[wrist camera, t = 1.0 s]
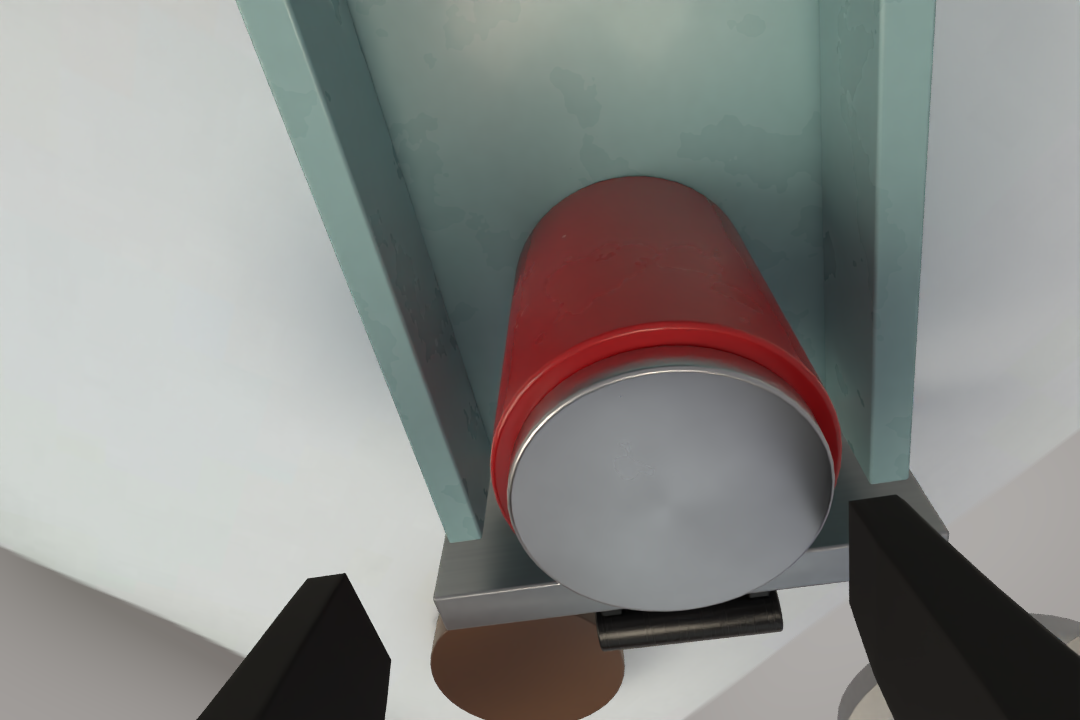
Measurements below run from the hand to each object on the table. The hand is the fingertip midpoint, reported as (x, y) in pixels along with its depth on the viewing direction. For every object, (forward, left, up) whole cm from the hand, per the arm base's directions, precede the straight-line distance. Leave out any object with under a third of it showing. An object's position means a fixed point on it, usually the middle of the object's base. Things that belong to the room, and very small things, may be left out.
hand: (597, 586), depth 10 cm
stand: (-6, +12, -10) cm, 17 cm away
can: (0, -1, -8) cm, 8 cm away
